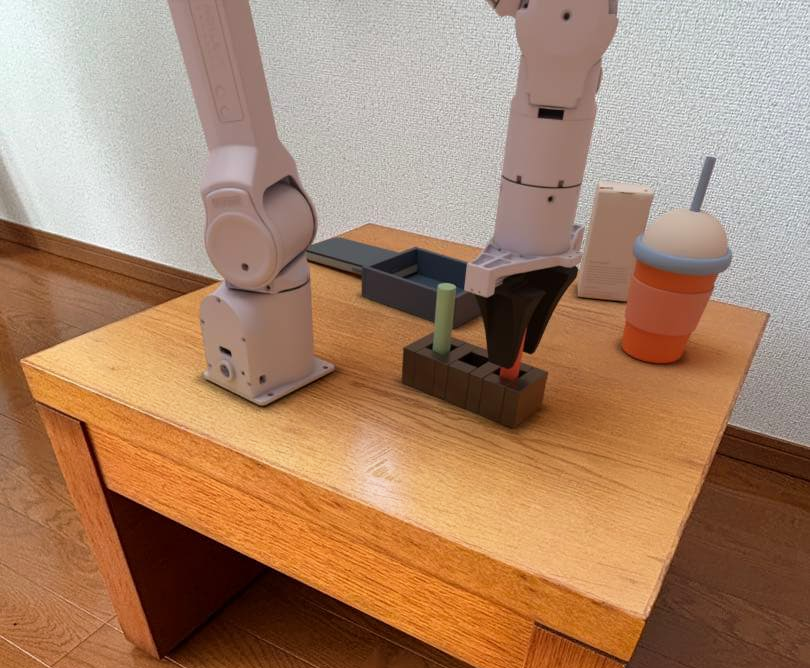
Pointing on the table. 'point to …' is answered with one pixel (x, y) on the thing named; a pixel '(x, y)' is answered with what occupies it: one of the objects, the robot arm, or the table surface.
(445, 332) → the green rod
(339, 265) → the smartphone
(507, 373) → the red rod
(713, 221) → the cup with straw
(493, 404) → the straw rack
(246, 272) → the robot arm
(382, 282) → the bin
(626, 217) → the cosmetic box
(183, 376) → the table surface
